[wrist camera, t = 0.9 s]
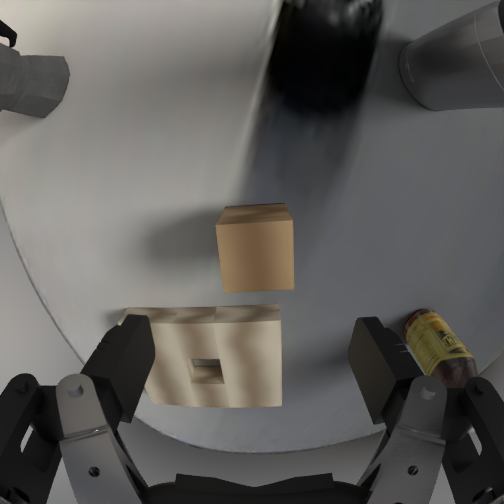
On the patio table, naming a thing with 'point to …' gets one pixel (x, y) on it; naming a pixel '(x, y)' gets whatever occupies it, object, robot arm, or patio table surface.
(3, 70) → the coffeepot
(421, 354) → the sauce bottle
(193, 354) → the birch board
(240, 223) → the oak peg
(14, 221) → the patio table surface
